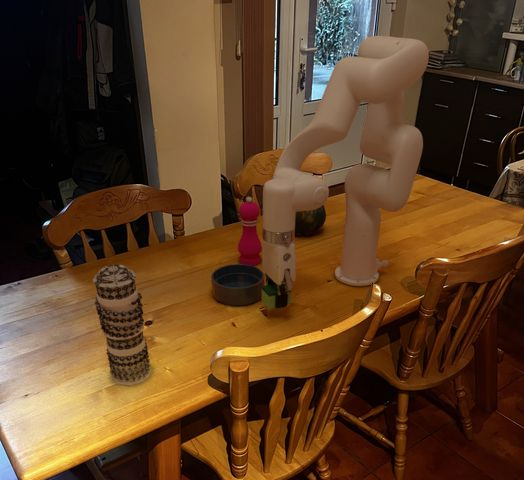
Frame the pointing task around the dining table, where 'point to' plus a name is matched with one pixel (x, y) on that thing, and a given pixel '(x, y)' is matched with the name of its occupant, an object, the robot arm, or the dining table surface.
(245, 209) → the pepper mill
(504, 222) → the dining table surface
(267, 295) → the sponge
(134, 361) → the decorative candle
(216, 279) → the bowl
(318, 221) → the squash
